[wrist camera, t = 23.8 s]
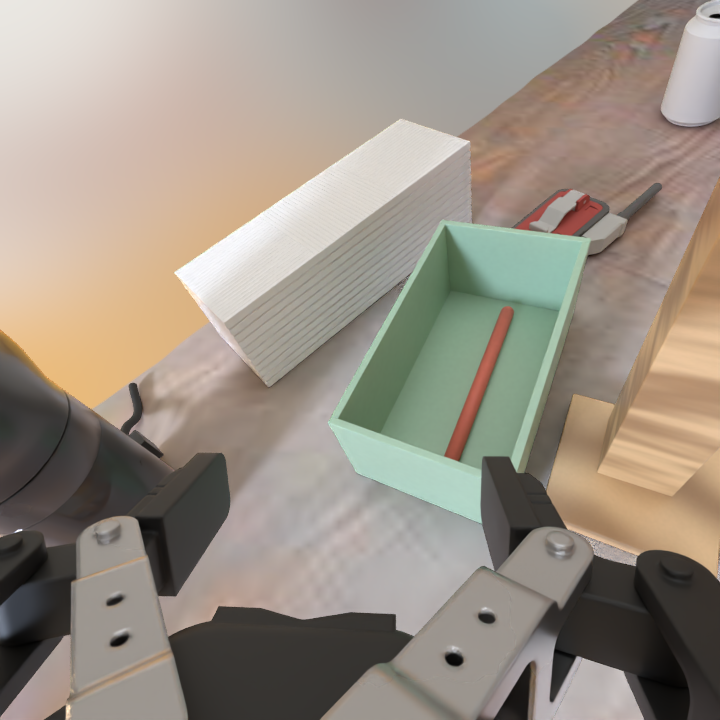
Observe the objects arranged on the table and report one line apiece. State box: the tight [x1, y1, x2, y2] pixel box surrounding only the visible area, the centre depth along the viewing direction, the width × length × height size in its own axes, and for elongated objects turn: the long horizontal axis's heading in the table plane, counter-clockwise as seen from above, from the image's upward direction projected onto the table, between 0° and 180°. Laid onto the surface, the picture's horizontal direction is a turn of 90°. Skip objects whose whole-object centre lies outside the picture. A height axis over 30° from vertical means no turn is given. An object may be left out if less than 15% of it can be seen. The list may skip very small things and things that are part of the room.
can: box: [661, 0, 720, 127], centre depth 55 cm, size 8×8×12 cm
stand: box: [546, 177, 720, 578], centre depth 22 cm, size 12×11×33 cm
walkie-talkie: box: [512, 183, 662, 255], centre depth 50 cm, size 9×4×20 cm
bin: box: [328, 220, 591, 524], centre depth 39 cm, size 23×13×10 cm, turn 153°
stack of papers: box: [174, 119, 472, 387], centre depth 51 cm, size 32×11×11 cm, turn 131°
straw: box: [444, 306, 514, 461], centre depth 41 cm, size 20×1×1 cm
